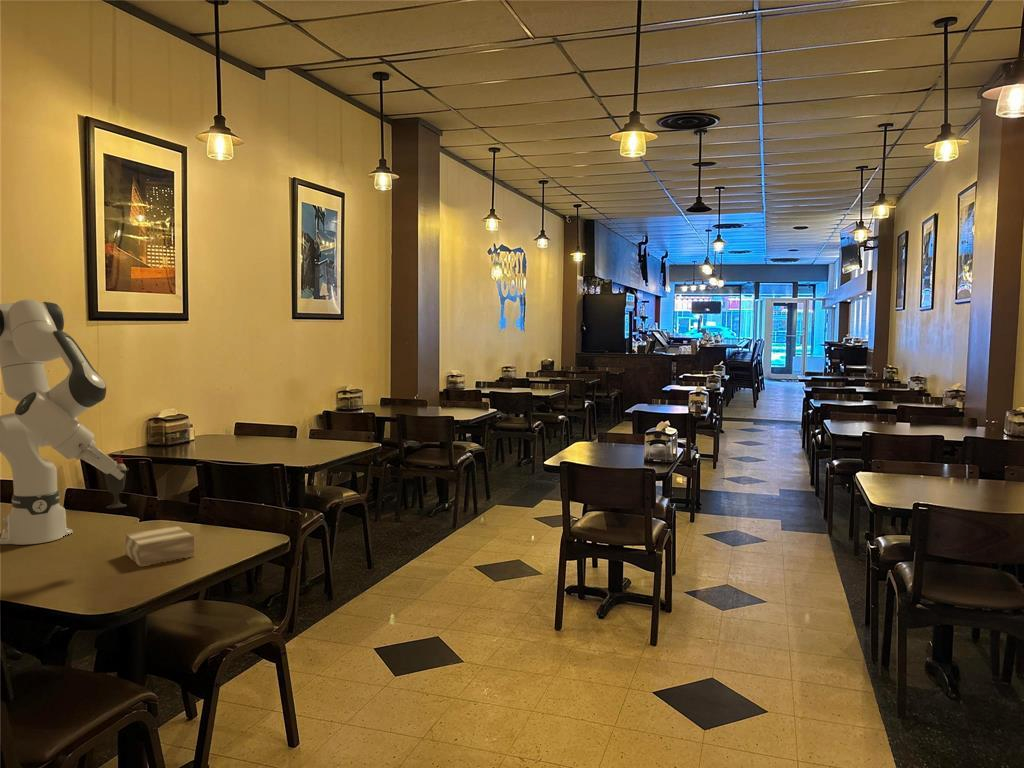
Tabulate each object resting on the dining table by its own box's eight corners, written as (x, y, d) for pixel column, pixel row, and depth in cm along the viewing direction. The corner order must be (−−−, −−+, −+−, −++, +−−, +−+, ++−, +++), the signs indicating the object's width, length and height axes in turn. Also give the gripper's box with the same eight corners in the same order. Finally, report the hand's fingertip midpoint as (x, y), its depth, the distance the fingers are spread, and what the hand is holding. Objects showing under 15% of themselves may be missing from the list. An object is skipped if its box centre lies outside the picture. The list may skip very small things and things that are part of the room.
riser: (126, 554, 205) (125, 534, 204) (177, 545, 214) (177, 525, 214) (140, 566, 194) (140, 545, 194) (194, 556, 204) (193, 536, 203)
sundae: (134, 506, 196) (132, 451, 196) (107, 510, 191) (104, 453, 191) (126, 503, 200) (123, 450, 200) (99, 507, 196) (97, 452, 195)
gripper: (94, 438, 182) (137, 471, 190) (77, 429, 198) (117, 461, 205) (75, 457, 180) (119, 490, 187) (58, 446, 195) (100, 478, 202)
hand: (118, 475), depth 196 cm, fingers closed on sundae, 6 cm apart
